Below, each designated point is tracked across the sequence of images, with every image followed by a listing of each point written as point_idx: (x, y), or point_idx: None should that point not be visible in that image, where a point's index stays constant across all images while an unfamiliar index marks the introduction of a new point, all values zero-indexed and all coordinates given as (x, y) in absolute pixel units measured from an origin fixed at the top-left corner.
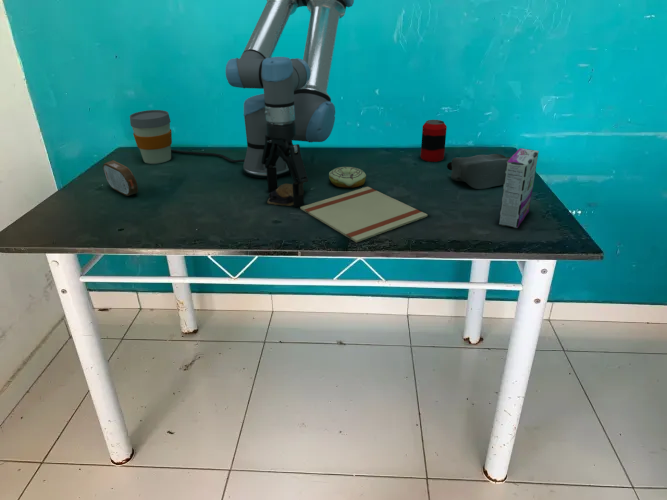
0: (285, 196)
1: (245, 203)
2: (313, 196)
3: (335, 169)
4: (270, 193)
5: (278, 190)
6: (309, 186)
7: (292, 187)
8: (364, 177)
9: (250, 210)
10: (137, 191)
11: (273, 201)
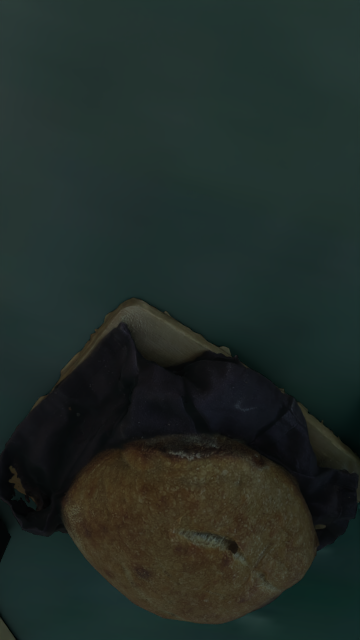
0: (74, 489)
1: (238, 64)
2: (129, 606)
3: None
4: (210, 385)
5: (173, 482)
6: (300, 616)
7: (149, 610)
8: None
9: (5, 61)
10: None
11: (100, 360)
